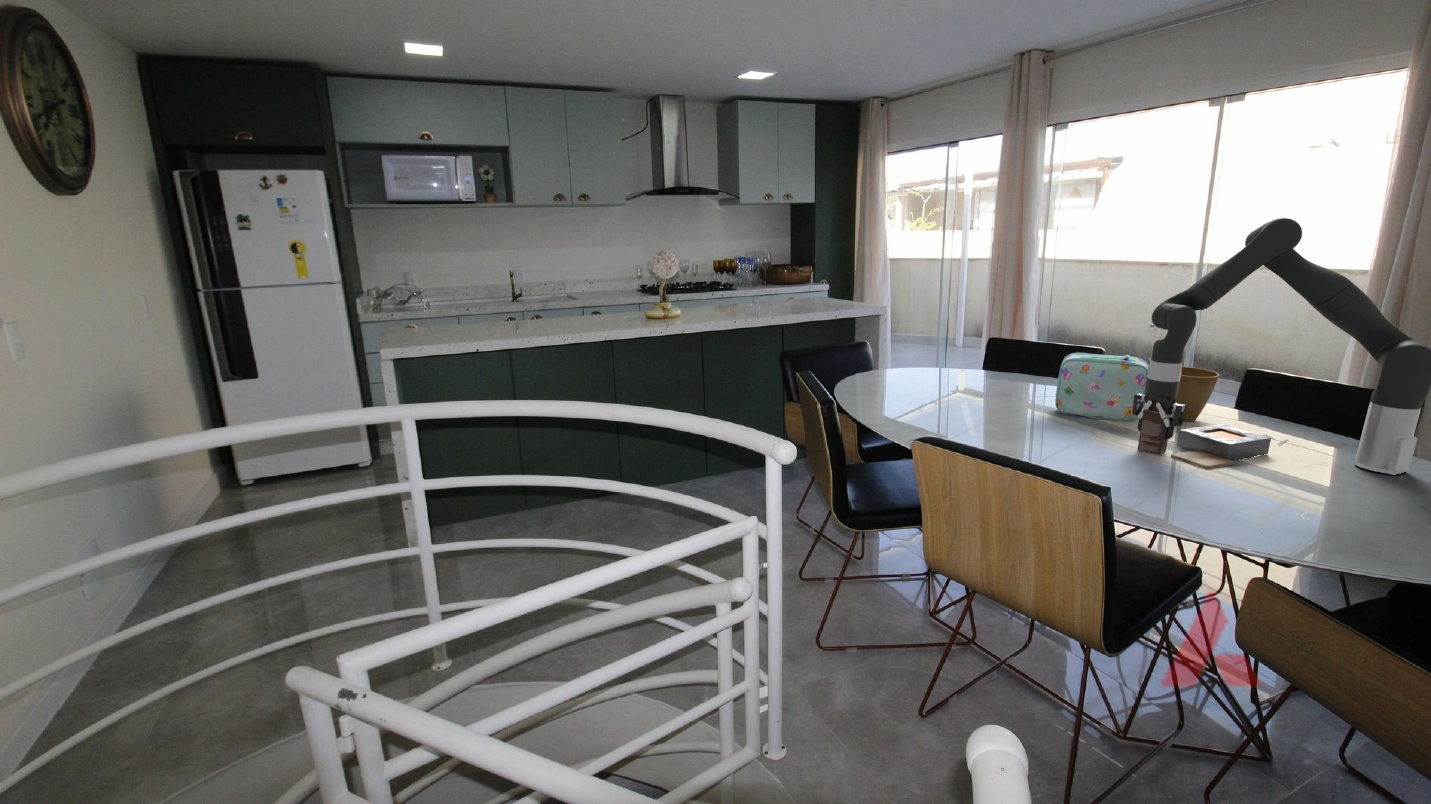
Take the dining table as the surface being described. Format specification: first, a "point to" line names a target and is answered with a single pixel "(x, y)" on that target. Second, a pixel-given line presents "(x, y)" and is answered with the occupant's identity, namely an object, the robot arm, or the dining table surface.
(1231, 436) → the button
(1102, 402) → the lunch box
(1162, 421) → the box
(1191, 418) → the plant pot
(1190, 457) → the walnut pad
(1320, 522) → the dining table surface
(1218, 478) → the dining table surface
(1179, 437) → the breaker guard
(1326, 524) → the dining table surface
